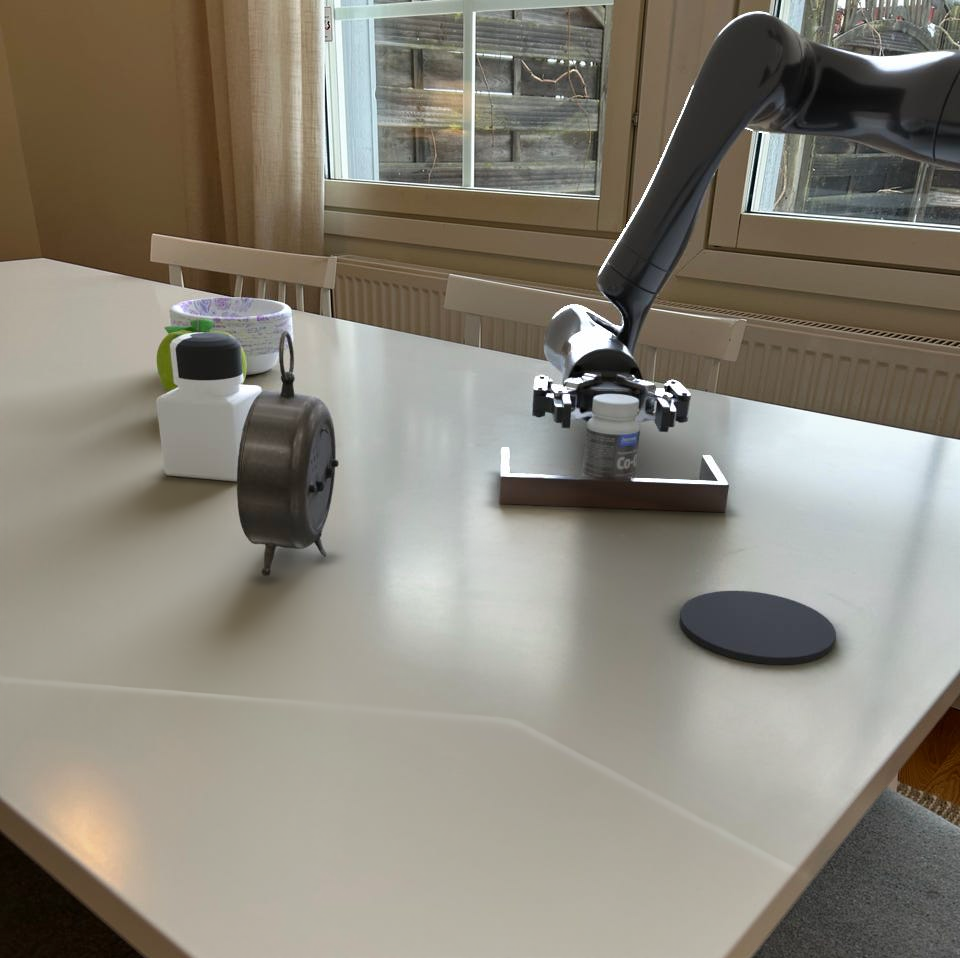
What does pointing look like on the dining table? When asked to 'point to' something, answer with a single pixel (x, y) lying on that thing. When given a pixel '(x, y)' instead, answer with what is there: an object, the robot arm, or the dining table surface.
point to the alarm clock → (285, 467)
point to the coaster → (757, 627)
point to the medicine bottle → (204, 407)
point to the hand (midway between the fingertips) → (616, 418)
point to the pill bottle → (612, 437)
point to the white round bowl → (242, 325)
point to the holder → (616, 490)
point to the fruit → (165, 355)
